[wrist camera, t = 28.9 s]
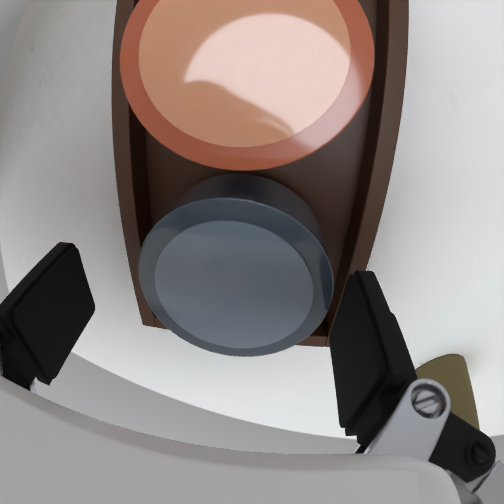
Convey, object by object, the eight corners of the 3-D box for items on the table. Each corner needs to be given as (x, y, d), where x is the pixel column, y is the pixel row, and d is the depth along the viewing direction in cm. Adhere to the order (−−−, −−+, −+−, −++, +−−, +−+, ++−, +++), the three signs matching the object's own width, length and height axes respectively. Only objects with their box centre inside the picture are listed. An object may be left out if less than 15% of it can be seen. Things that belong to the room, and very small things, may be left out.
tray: (154, 302, 17) (142, 325, 15) (142, -23, 7) (122, -35, 6) (334, 321, 16) (338, 347, 14) (391, -13, 7) (408, -26, 5)
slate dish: (177, 292, 15) (153, 346, 12) (165, 162, 12) (122, 194, 8) (309, 305, 15) (313, 364, 12) (333, 173, 11) (354, 210, 8)
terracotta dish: (165, 143, 11) (119, 168, 8) (171, -10, 8) (128, -40, 4) (335, 155, 11) (358, 186, 8) (349, -4, 7) (378, -39, 4)
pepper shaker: (474, 366, 18) (509, 472, 9) (421, 402, 21) (442, 504, 12) (449, 345, 17) (492, 477, 7) (388, 387, 20) (407, 513, 10)
